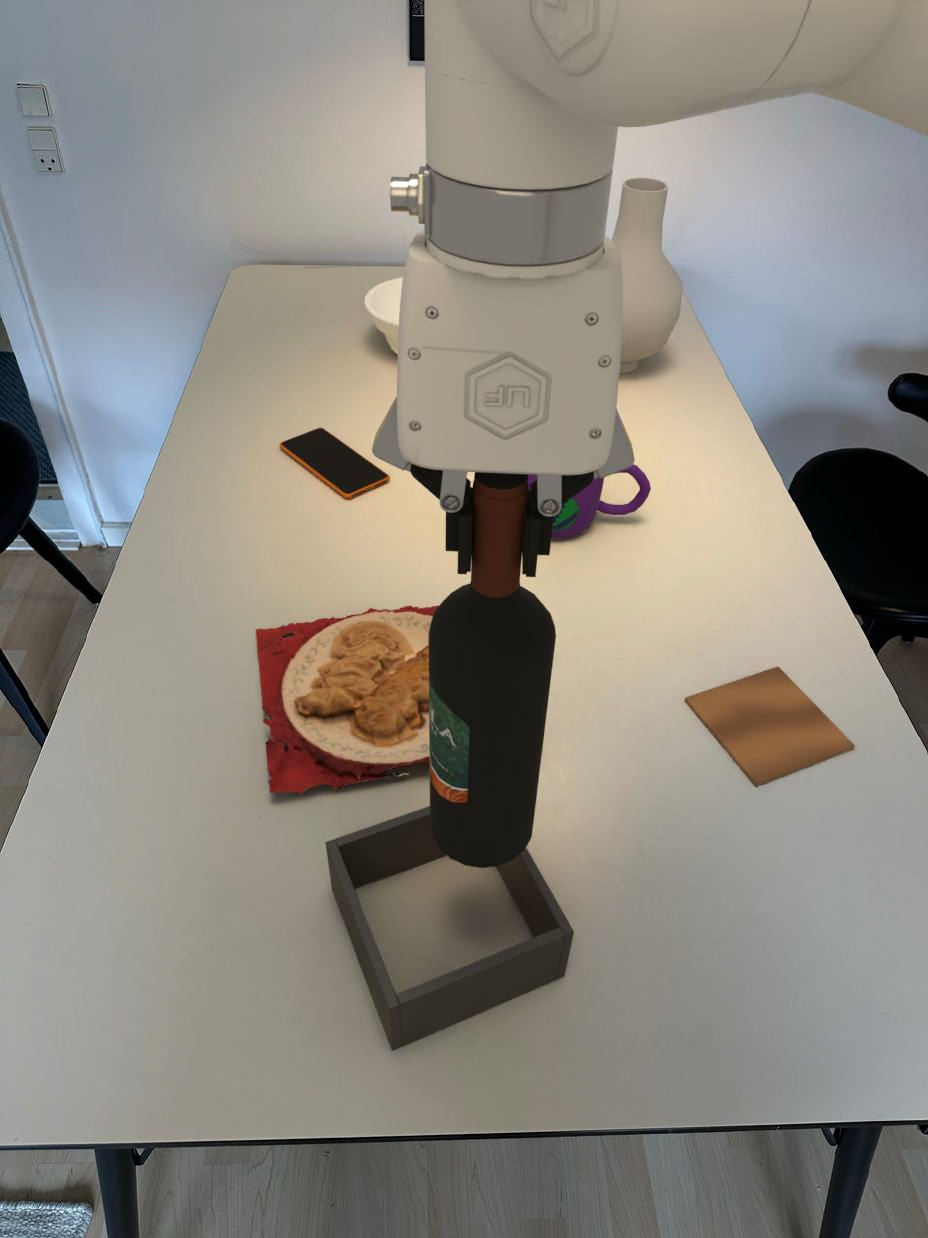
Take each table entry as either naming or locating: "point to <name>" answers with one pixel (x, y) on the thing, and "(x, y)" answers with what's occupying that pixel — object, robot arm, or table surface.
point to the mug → (594, 505)
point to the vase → (645, 272)
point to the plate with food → (346, 697)
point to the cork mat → (768, 725)
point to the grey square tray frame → (465, 987)
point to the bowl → (386, 308)
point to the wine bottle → (489, 689)
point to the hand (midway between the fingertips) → (497, 557)
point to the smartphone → (334, 462)
